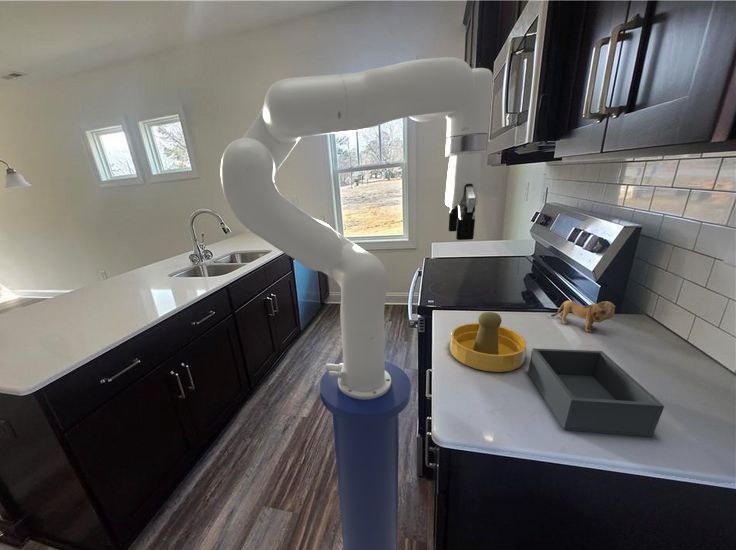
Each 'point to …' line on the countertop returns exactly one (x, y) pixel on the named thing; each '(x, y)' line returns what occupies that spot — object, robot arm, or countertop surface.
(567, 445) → the countertop surface
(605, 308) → the lion figurine
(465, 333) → the bowl
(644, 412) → the bin
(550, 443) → the countertop surface
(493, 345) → the cork
